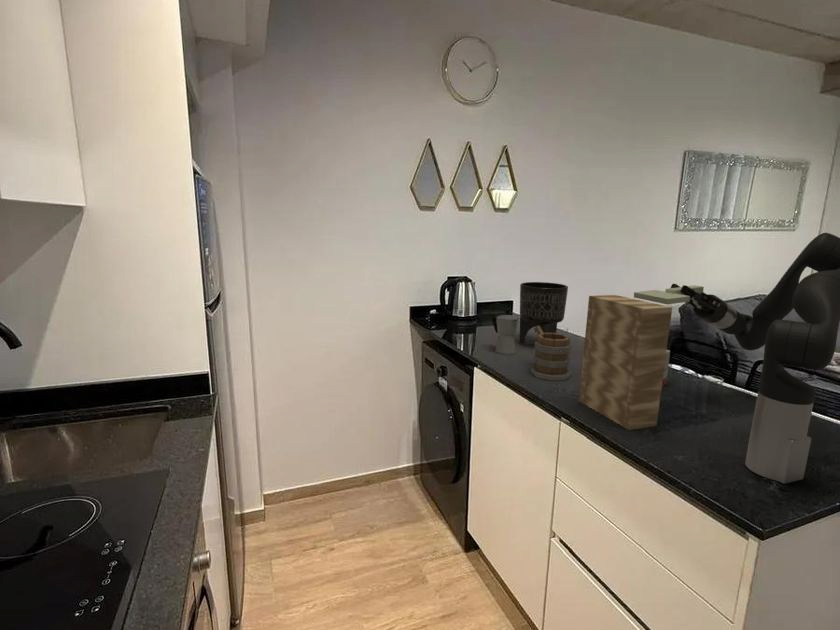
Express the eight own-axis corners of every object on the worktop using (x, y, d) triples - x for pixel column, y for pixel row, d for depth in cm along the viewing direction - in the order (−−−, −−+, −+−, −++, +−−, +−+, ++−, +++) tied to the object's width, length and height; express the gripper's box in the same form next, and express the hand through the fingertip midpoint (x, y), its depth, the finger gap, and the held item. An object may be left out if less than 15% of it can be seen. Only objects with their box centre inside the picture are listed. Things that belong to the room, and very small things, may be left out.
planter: (539, 337, 210) (543, 281, 205) (572, 347, 194) (578, 286, 189) (507, 342, 200) (510, 283, 195) (539, 353, 184) (544, 289, 179)
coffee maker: (524, 354, 183) (527, 310, 180) (508, 357, 178) (511, 312, 175) (498, 345, 195) (500, 304, 192) (483, 348, 191) (485, 306, 187)
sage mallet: (717, 297, 125) (718, 288, 124) (667, 304, 120) (668, 295, 119) (680, 291, 136) (681, 283, 135) (633, 297, 131) (634, 288, 130)
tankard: (576, 380, 154) (580, 337, 151) (541, 381, 152) (544, 338, 149) (550, 362, 173) (553, 324, 170) (518, 363, 171) (521, 324, 168)
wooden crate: (656, 425, 120) (672, 307, 113) (629, 430, 117) (644, 308, 111) (603, 398, 138) (614, 294, 132) (579, 401, 135) (589, 295, 129)
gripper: (700, 296, 140) (663, 272, 134) (744, 304, 127) (705, 278, 121) (689, 318, 140) (651, 295, 134) (731, 328, 127) (692, 303, 121)
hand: (677, 287), depth 127 cm, fingers closed on sage mallet, 3 cm apart
